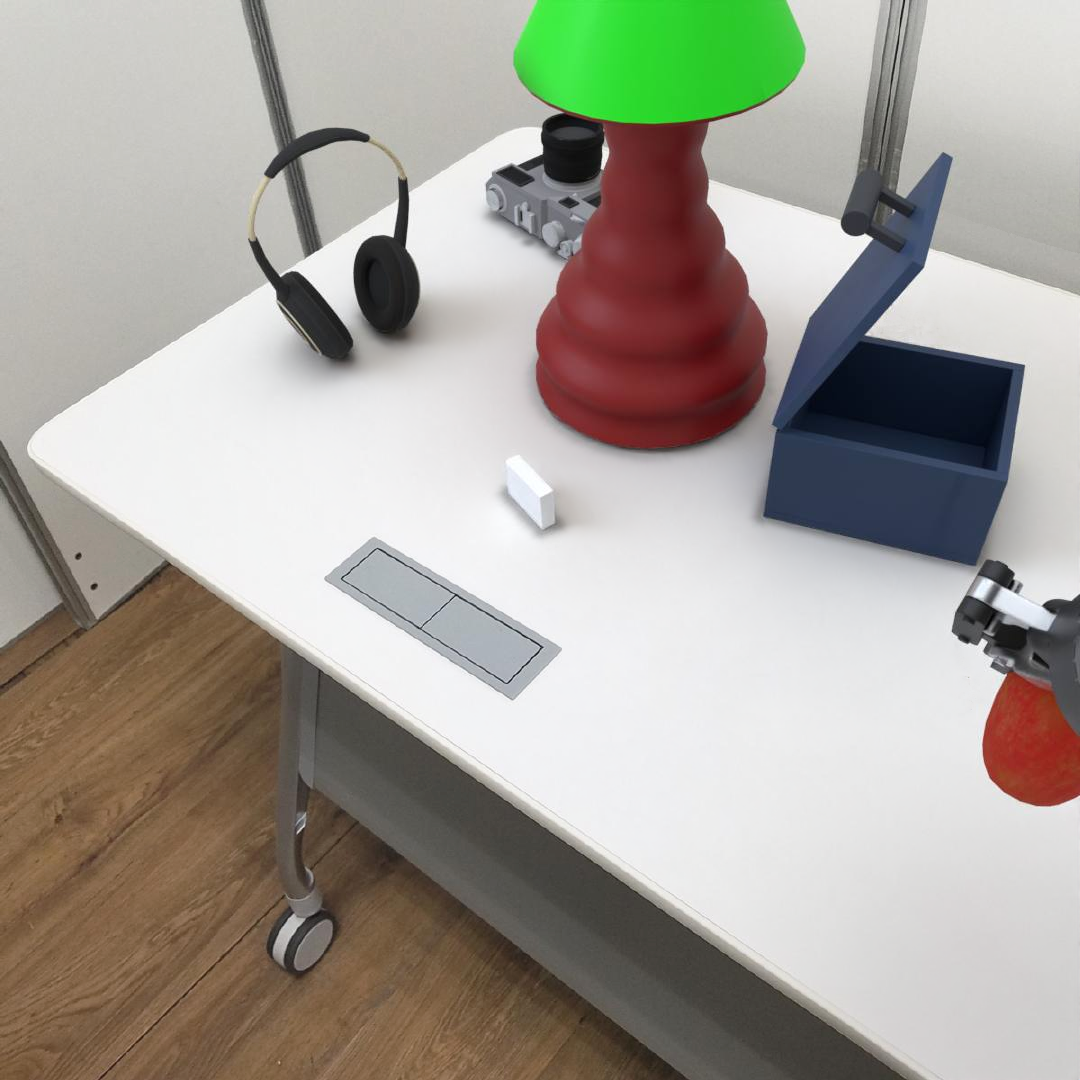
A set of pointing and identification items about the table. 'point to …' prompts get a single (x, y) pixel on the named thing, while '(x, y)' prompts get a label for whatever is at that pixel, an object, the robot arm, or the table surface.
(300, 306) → the headphones
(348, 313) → the table surface
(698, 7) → the table lamp
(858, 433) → the box
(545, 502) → the eraser
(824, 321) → the lid
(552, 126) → the camera
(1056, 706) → the apple
